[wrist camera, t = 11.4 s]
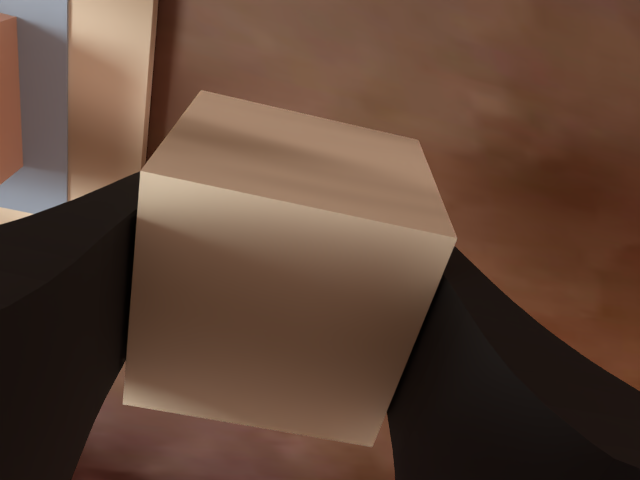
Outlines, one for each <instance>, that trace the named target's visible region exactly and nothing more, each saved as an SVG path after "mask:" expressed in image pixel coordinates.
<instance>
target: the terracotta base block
mask: <svg viewBox="0 0 640 480" xmlns="http://www.w3.org/2000/svg"><path fill="white" fill-rule="evenodd" d="M22 167H23V151H22V129H21V107H20V84H19V62H18V39H17V17H16V16H11V15H7V14H3V13H0V185H1V184H2V183H3V182H4V181H6V180H7V179H8V178H9V177H11V176H12V175H13V174H14V173H15V172H17V171H18V170H19V169H20V168H22Z"/></svg>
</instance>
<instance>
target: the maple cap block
mask: <svg viewBox="0 0 640 480" xmlns="http://www.w3.org/2000/svg"><path fill="white" fill-rule="evenodd" d="M456 240H457V236H456V234H455V231H454V229H453V226H452V224H451V221H450V219H449V216H448V214H447V211H446V209H445V206H444V204H443V201H442V199H441V196H440V193H439V191H438V188H437V186H436V183H435V181H434V178H433V176H432V173H431V171H430V168H429V166H428V163H427V161H426V158H425V156H424V153H423V151H422V148H421V146H420V143H419V141H418V140H416V139H412V138H408V137H403V136H399V135H395V134H390V133H386V132H382V131H377V130H373V129H369V128H364V127H360V126H355V125H351V124H347V123H342V122H338V121H334V120H329V119H325V118H321V117H316V116H312V115H308V114H303V113H299V112H295V111H290V110H286V109H281V108H277V107H273V106H268V105H264V104H260V103H255V102H251V101H247V100H242V99H238V98H234V97H229V96H225V95H220V94H216V93H212V92H207V91H203V90H201V91H200V92H199V93H198V95H197V96H196V97H195V99H194V100H193V101H192V103H191V104H190V105H189V107H188V108H187V109H186V111H185V112H184V113H183V115H182V116H181V117H180V119H179V120H178V121H177V123H176V124H175V125H174V127H173V128H172V129H171V131H170V132H169V133H168V135H167V136H166V137H165V139H164V140H163V141H162V143H161V144H160V145H159V147H158V148H157V149H156V151H155V152H154V153H153V155H152V156H151V157H150V159H149V160H148V161H147V163H146V164H145V165H144V167H143V168H142V169H141V171H140V183H139V196H138V209H137V223H136V236H135V249H134V262H133V276H132V289H131V302H130V315H129V329H128V342H127V355H126V369H125V382H124V395H123V404H124V405H130V406H136V407H142V408H147V409H153V410H159V411H165V412H171V413H177V414H182V415H188V416H194V417H200V418H206V419H211V420H217V421H223V422H229V423H235V424H241V425H246V426H252V427H258V428H264V429H270V430H276V431H281V432H287V433H293V434H299V435H305V436H310V437H316V438H322V439H328V440H334V441H340V442H345V443H351V444H357V445H363V446H369V447H372V446H373V444H374V442H375V439H376V437H377V434H378V432H379V429H380V427H381V424H382V422H383V419H384V417H385V415H386V412H387V410H388V407H389V405H390V402H391V400H392V397H393V395H394V392H395V390H396V388H397V385H398V383H399V380H400V378H401V375H402V373H403V370H404V368H405V365H406V363H407V361H408V358H409V356H410V353H411V351H412V348H413V346H414V343H415V341H416V338H417V336H418V334H419V331H420V329H421V326H422V324H423V321H424V319H425V316H426V314H427V312H428V309H429V307H430V304H431V302H432V299H433V297H434V294H435V292H436V289H437V287H438V285H439V282H440V280H441V277H442V275H443V272H444V270H445V267H446V265H447V262H448V260H449V258H450V255H451V253H452V250H453V248H454V245H455V243H456Z"/></svg>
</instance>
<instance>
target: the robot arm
mask: <svg viewBox="0 0 640 480" xmlns="http://www.w3.org/2000/svg"><path fill="white" fill-rule="evenodd" d="M139 183H140V172H137V173H134V174H132V175H129V176H127V177H125V178H123V179H120V180H118V181H116V182H113V183H111V184H109V185H107V186H104V187H102V188H100V189H97V190H95V191H93V192H90V193H88V194H86V195H83V196H81V197H79V198H76V199H74V200H71V201H68V202H65V203H63V204H60V205H57V206H54V207H52V208H49V209H46V210H44V211H41V212H38V213H35V214H33V215H30V216H27V217H24V218H21V219H17V220H14V221H11V222H7V223H4V224H0V480H71V479H72V476H73V473H74V471H75V468H76V466H77V463H78V461H79V458H80V456H81V453H82V451H83V448H84V446H85V443H86V441H87V438H88V436H89V433H90V431H91V428H92V426H93V423H94V421H95V419H96V417H97V415H98V413H99V410H100V408H101V406H102V404H103V402H104V400H105V398H106V396H107V394H108V392H109V391H110V389H111V387H112V385H113V383H114V381H115V379H116V377H117V376H118V374H119V372H120V370H121V368H122V366H123V364H124V362H125V361H126V355H127V342H128V329H129V315H130V302H131V289H132V276H133V262H134V249H135V236H136V223H137V209H138V196H139ZM387 415H388V422H389V428H390V435H391V442H392V448H393V458H394V467H395V480H640V391H638V390H637V389H635V388H633V387H632V386H630V385H628V384H627V383H625V382H624V381H622V380H620V379H619V378H617V377H615V376H614V375H612V374H610V373H609V372H607V371H606V370H604V369H602V368H601V367H599V366H598V365H596V364H595V363H593V362H592V361H590V360H589V359H587V358H586V357H584V356H583V355H581V354H580V353H579V352H577V351H576V350H574V349H573V348H572V347H570V346H569V345H567V344H566V343H565V342H563V341H562V340H561V339H559V338H558V337H556V336H555V335H554V334H552V333H551V332H550V331H548V330H547V329H546V328H545V327H543V326H542V325H541V324H539V323H538V322H537V321H536V320H535V319H533V318H532V317H531V316H530V315H529V314H527V313H526V312H525V311H524V310H523V309H522V308H520V307H519V306H518V305H517V304H516V303H514V302H513V301H512V300H511V299H510V298H509V297H508V296H507V295H505V294H504V293H503V292H502V291H501V290H500V289H499V288H498V287H497V286H496V285H495V284H493V283H492V282H491V281H490V280H489V279H488V278H487V277H486V276H485V275H484V274H483V273H482V272H481V271H480V270H479V269H478V268H477V267H476V266H475V265H474V264H473V263H472V262H471V261H469V260H468V259H467V258H466V257H465V256H464V255H463V254H462V253H461V252H460V251H459V250H458V249H457V248H456V247H455V246H454V248H453V250H452V253H451V255H450V258H449V260H448V262H447V265H446V267H445V270H444V272H443V275H442V277H441V280H440V282H439V285H438V287H437V289H436V292H435V294H434V297H433V299H432V302H431V304H430V307H429V309H428V312H427V314H426V316H425V319H424V321H423V324H422V326H421V329H420V331H419V334H418V336H417V338H416V341H415V343H414V346H413V348H412V351H411V353H410V356H409V358H408V361H407V363H406V365H405V368H404V370H403V373H402V375H401V378H400V380H399V383H398V385H397V388H396V390H395V392H394V395H393V397H392V400H391V402H390V405H389V407H388V410H387Z"/></svg>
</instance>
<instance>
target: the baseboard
mask: <svg viewBox="0 0 640 480" xmlns="http://www.w3.org/2000/svg"><path fill="white" fill-rule="evenodd" d="M0 13H3V14H7V15H11V16H16V17H17V39H18V62H19V84H20V107H21V129H22V151H23V167H22V168H20V169H19V170H18V171H17V172H15V173H14V174H13V175H12V176H11V177H9V178H8V179H7V180H6V181H4V182H3V183H2V184H1V185H0V224H4V223H7V222H11V221H14V220H17V219H21V218H24V217H27V216H30V215H33V214H35V213H38V212H41V211H44V210H46V209H49V208H52V207H54V206H57V205H60V204H63V203H65V202H68V201H71V200H74V199H76V198H79V197H81V196H83V195H86V194H88V193H90V192H93V191H95V190H97V189H100V188H102V187H104V186H107V185H109V184H111V183H113V182H116V181H118V180H120V179H123V178H125V177H127V176H129V175H132V174H134V173H137V172H140V171H141V169H142V168H143V167H144V165H145V164H146V153H147V140H148V128H149V115H150V102H151V89H152V77H153V64H154V51H155V38H156V26H157V13H158V0H0Z"/></svg>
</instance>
